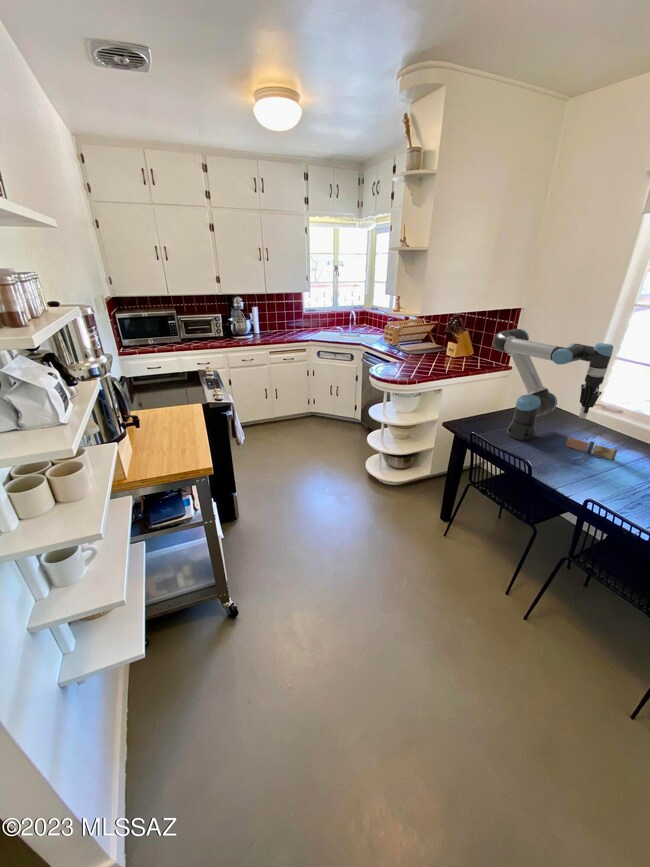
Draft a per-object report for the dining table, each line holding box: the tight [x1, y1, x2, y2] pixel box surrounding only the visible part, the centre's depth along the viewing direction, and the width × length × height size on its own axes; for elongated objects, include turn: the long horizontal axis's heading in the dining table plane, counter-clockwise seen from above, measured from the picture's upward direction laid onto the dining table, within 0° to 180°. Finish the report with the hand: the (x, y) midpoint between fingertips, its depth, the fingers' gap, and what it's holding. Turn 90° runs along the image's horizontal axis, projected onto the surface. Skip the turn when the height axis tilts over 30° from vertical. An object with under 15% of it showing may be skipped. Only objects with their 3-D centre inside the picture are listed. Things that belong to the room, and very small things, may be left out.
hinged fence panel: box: [565, 436, 589, 453], centre depth 193 cm, size 9×1×6 cm, turn 43°
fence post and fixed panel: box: [586, 440, 618, 461], centre depth 185 cm, size 12×2×6 cm, turn 43°
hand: (582, 417), depth 192 cm, fingers closed
